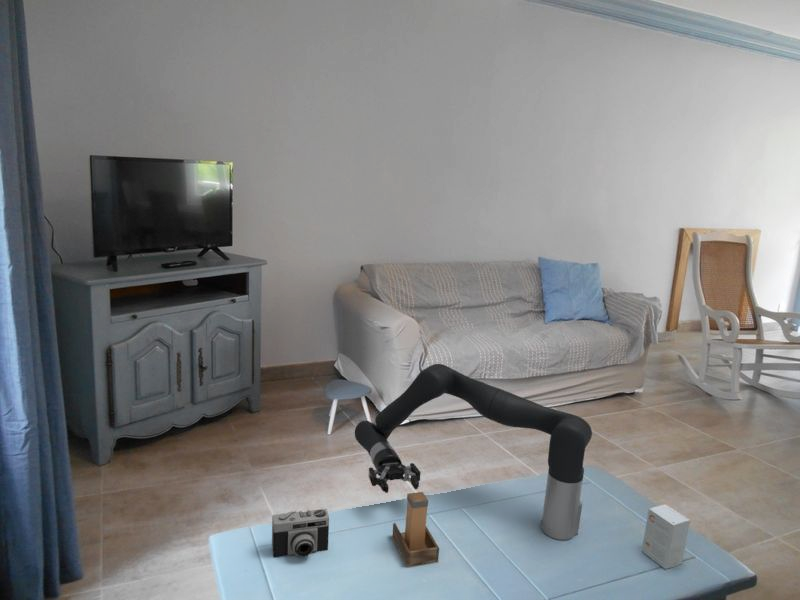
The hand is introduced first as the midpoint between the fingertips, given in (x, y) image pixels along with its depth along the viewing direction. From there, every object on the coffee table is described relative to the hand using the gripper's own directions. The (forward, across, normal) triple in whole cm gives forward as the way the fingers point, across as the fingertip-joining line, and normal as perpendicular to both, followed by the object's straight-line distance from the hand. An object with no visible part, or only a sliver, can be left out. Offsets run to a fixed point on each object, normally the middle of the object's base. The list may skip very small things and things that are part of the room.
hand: (402, 488), depth 166 cm
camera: (+7, -29, +11) cm, 31 cm away
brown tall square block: (+12, 0, +10) cm, 15 cm away
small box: (+31, +63, +10) cm, 71 cm away
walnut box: (+12, 0, +10) cm, 16 cm away
